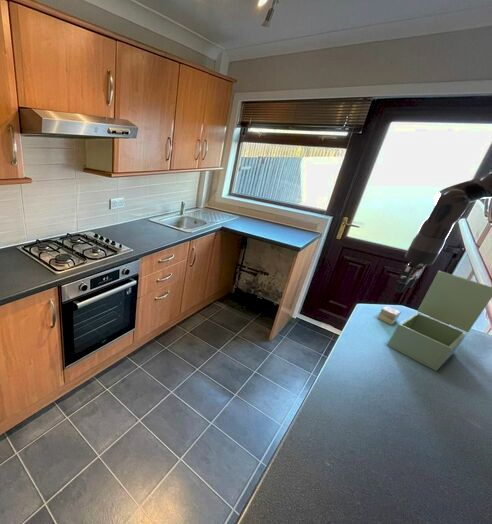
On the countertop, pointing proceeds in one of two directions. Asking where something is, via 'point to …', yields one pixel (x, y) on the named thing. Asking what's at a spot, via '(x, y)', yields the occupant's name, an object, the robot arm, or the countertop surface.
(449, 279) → the lid
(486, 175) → the robot arm
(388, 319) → the block
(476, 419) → the countertop surface
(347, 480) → the countertop surface
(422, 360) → the green hinged box
